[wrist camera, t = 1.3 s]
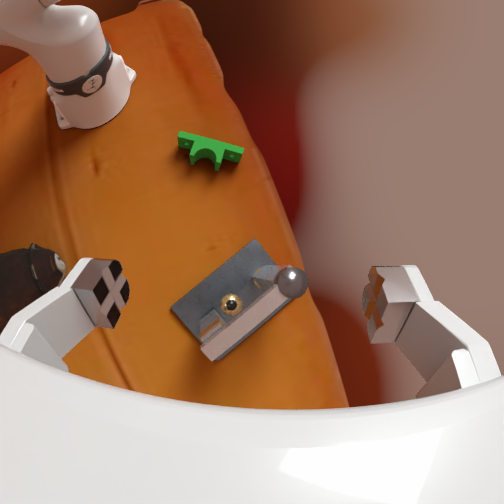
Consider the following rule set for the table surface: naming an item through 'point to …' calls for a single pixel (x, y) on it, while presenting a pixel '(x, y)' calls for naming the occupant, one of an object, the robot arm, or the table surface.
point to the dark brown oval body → (27, 278)
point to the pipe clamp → (209, 149)
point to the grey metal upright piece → (259, 305)
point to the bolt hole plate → (226, 291)
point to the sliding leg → (210, 325)
